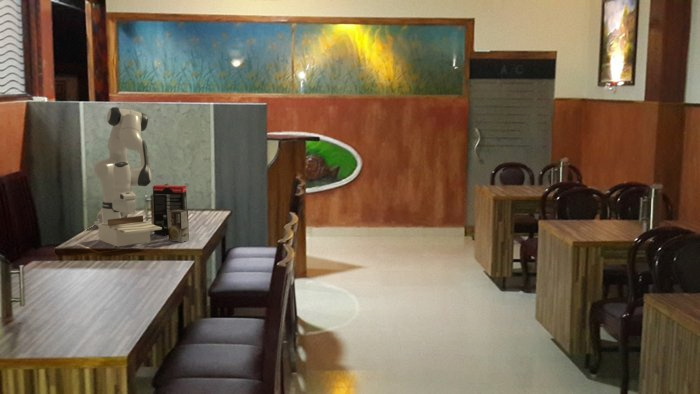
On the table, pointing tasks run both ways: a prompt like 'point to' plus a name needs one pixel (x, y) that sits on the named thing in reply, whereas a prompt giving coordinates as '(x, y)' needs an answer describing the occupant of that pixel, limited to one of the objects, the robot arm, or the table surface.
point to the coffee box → (178, 225)
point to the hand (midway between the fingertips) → (124, 220)
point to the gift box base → (121, 236)
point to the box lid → (131, 225)
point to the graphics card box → (167, 204)
